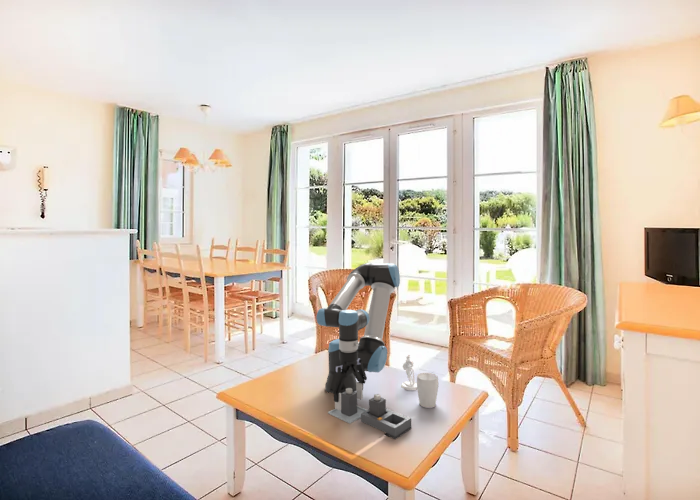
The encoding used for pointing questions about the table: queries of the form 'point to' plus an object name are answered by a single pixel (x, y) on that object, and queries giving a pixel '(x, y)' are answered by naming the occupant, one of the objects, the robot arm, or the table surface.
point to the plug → (349, 402)
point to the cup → (427, 389)
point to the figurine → (409, 375)
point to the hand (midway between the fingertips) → (349, 403)
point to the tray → (344, 417)
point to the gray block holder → (385, 418)
